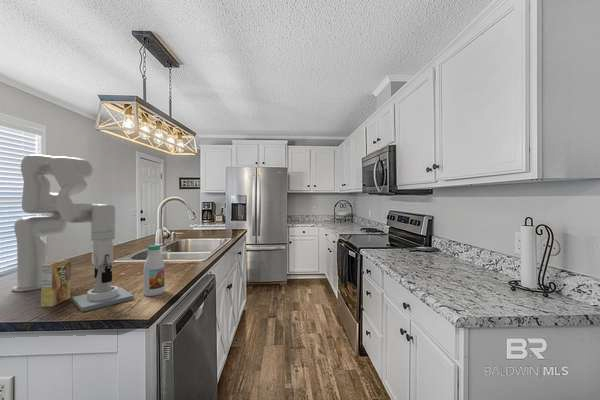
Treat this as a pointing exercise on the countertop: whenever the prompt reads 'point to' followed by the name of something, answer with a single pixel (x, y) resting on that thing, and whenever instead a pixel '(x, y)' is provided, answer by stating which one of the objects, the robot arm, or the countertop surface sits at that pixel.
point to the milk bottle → (153, 272)
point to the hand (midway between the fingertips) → (103, 279)
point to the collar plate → (101, 303)
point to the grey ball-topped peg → (99, 285)
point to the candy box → (55, 282)
